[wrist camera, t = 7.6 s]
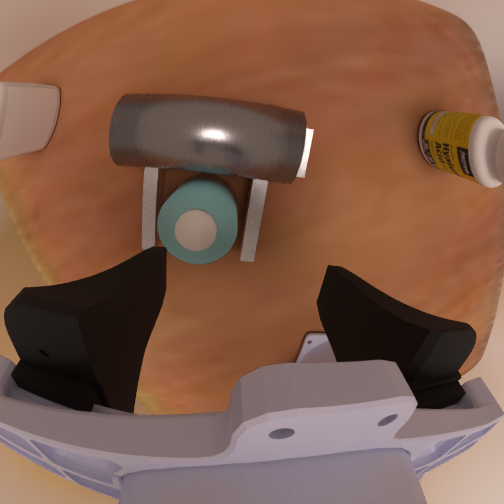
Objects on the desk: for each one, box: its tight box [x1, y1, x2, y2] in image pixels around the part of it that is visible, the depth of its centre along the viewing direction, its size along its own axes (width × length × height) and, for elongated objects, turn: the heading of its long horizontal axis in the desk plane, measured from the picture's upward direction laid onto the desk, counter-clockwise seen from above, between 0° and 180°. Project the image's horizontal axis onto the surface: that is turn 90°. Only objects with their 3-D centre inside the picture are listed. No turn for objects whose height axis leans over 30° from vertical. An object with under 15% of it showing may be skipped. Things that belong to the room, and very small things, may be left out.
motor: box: [109, 94, 314, 262], centre depth 17 cm, size 11×12×6 cm
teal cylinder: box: [157, 173, 238, 264], centre depth 18 cm, size 5×5×6 cm
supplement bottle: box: [419, 111, 504, 188], centre depth 14 cm, size 5×5×10 cm
